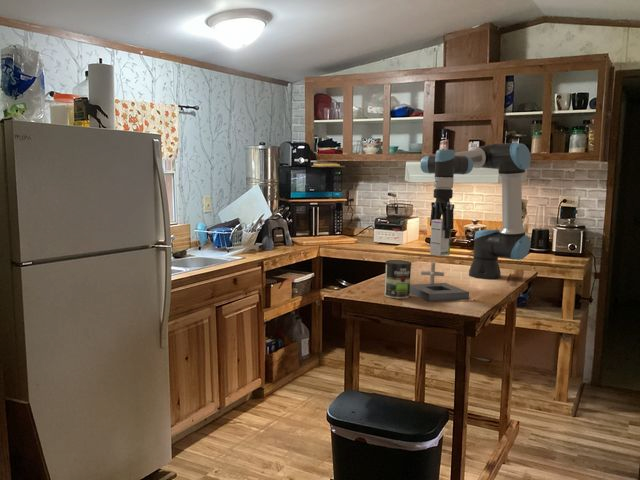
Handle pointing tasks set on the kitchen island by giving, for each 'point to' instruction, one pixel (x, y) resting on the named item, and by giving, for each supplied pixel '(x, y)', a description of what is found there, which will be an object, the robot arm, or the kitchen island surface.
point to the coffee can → (397, 279)
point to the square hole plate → (438, 292)
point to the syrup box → (438, 239)
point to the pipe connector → (432, 273)
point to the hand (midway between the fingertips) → (440, 245)
